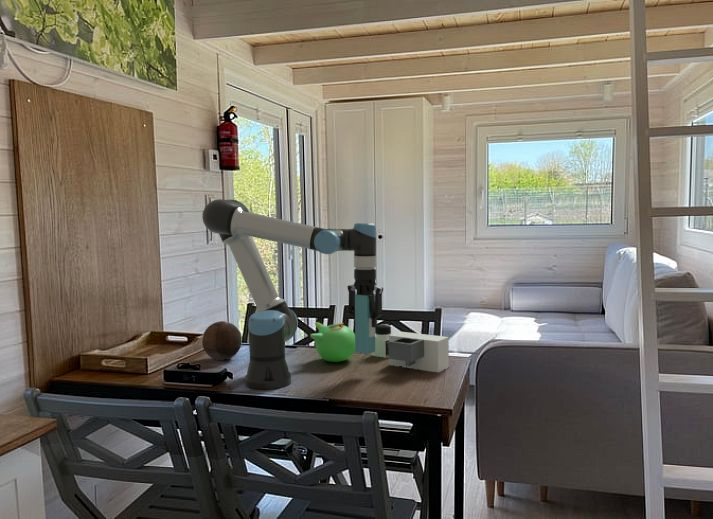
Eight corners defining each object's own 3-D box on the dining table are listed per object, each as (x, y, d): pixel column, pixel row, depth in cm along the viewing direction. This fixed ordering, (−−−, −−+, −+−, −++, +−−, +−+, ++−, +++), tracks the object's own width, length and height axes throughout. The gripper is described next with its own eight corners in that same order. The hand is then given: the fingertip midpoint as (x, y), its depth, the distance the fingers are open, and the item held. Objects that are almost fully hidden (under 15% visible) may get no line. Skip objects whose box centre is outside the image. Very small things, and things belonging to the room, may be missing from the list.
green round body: (356, 366, 213) (355, 326, 212) (310, 367, 214) (309, 327, 213) (357, 354, 231) (356, 318, 230) (315, 355, 232) (314, 318, 231)
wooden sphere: (247, 355, 234) (246, 318, 233) (234, 364, 220) (233, 325, 218) (211, 354, 237) (210, 318, 235) (196, 364, 222) (194, 325, 221)
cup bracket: (389, 367, 204) (388, 341, 203) (402, 361, 211) (401, 336, 211) (411, 370, 199) (411, 344, 198) (424, 364, 206) (424, 339, 206)
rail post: (355, 352, 202) (354, 294, 200) (363, 349, 206) (363, 293, 204) (367, 354, 199) (367, 295, 197) (375, 351, 203) (375, 294, 202)
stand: (389, 364, 215) (389, 335, 214) (400, 360, 221) (400, 331, 220) (438, 372, 203) (438, 341, 202) (448, 367, 210) (448, 337, 209)
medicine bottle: (386, 358, 225) (385, 327, 224) (370, 355, 229) (370, 325, 228) (396, 354, 231) (395, 324, 230) (381, 352, 235) (380, 322, 234)
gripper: (393, 268, 198) (393, 336, 200) (350, 266, 208) (350, 330, 210) (381, 270, 192) (381, 340, 194) (337, 267, 202) (337, 334, 204)
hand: (365, 335), depth 202 cm, fingers closed on rail post, 5 cm apart
